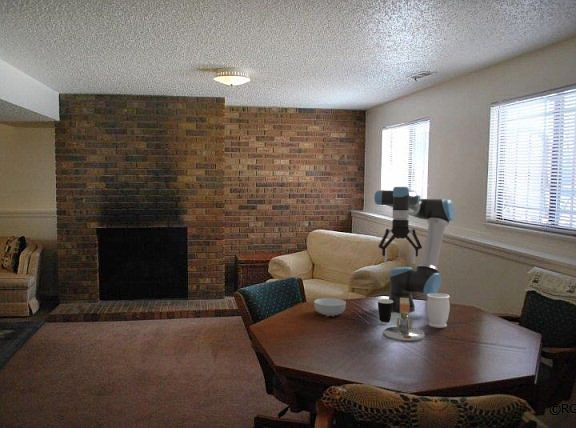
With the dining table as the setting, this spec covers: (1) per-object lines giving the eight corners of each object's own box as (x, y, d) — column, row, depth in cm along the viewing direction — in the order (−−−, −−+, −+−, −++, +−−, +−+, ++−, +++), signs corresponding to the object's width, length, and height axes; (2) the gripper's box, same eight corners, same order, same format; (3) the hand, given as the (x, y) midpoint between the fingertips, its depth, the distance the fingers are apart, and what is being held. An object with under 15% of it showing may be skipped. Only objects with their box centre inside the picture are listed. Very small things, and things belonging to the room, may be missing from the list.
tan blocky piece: (396, 332, 214) (397, 304, 213) (396, 323, 227) (397, 297, 226) (411, 333, 213) (412, 304, 212) (411, 324, 225) (411, 298, 225)
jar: (446, 322, 240) (447, 293, 239) (451, 329, 230) (452, 297, 229) (424, 322, 241) (425, 292, 240) (428, 328, 231) (429, 297, 230)
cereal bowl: (347, 319, 247) (347, 305, 246) (314, 319, 247) (314, 305, 246) (343, 310, 263) (344, 297, 263) (313, 310, 264) (313, 297, 263)
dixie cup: (396, 323, 239) (396, 301, 238) (383, 325, 235) (383, 303, 234) (386, 319, 246) (386, 298, 245) (373, 321, 242) (373, 299, 241)
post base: (381, 329, 230) (381, 311, 229) (420, 330, 228) (420, 312, 228) (386, 341, 212) (386, 322, 211) (428, 342, 210) (428, 323, 210)
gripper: (375, 219, 229) (374, 263, 230) (428, 219, 227) (427, 264, 228) (373, 218, 236) (372, 261, 238) (425, 218, 235) (424, 262, 236)
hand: (399, 263), depth 233 cm, fingers open, 13 cm apart
